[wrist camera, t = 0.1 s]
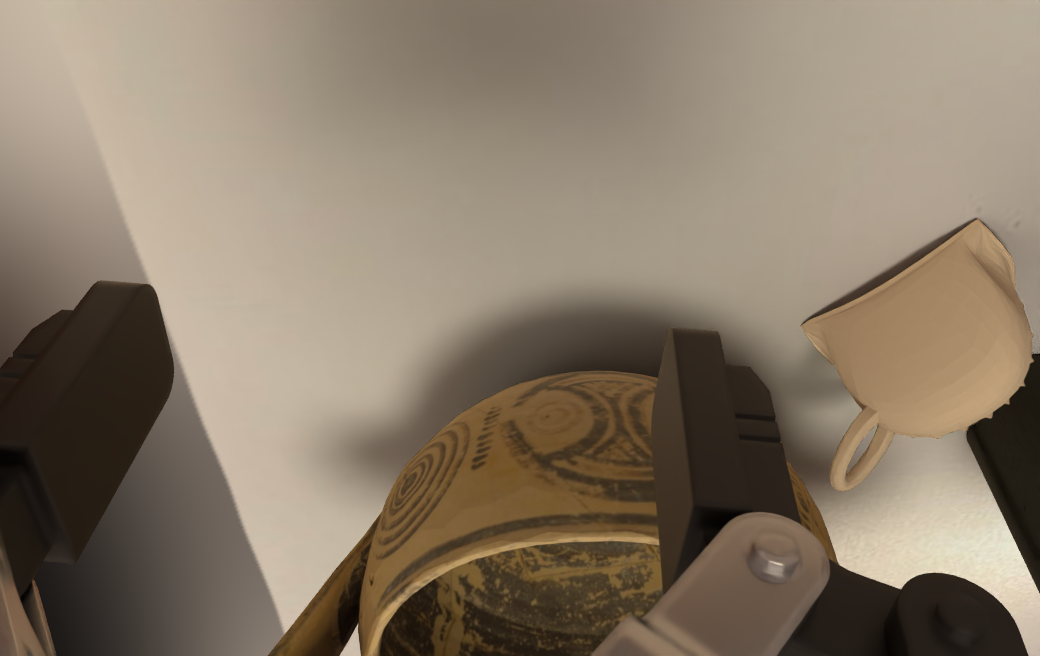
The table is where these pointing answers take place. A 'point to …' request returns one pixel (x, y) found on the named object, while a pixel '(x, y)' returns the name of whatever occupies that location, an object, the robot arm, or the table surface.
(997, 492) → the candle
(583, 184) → the table surface
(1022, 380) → the decorative ornament
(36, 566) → the robot arm
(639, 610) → the ceramic bowl
